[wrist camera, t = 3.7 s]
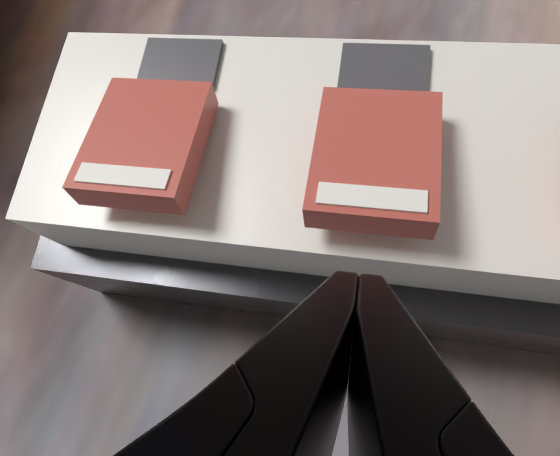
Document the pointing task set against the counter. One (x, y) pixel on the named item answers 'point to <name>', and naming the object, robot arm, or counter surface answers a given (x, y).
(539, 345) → the stand
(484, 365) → the counter surface
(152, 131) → the rocker
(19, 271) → the counter surface
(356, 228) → the rocker middle
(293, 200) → the power strip
